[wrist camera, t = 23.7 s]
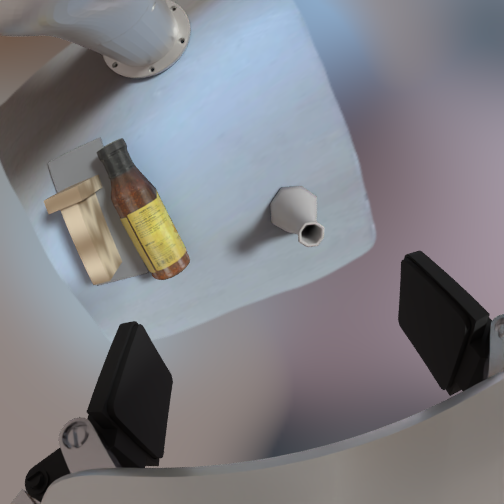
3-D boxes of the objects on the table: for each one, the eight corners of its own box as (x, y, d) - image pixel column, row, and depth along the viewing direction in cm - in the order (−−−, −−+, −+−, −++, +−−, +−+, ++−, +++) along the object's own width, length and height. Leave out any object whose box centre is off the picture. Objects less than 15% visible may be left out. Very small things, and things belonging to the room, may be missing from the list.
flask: (263, 226, 44) (273, 256, 35) (276, 179, 41) (290, 198, 32) (309, 236, 45) (329, 267, 36) (323, 191, 42) (349, 212, 33)
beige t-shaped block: (67, 187, 38) (43, 200, 32) (98, 174, 38) (77, 185, 32) (99, 267, 44) (83, 290, 38) (130, 259, 44) (116, 282, 38)
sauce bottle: (198, 255, 44) (143, 128, 35) (178, 281, 39) (112, 139, 30) (165, 260, 46) (111, 145, 38) (144, 284, 41) (81, 158, 33)
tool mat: (49, 162, 36) (47, 162, 36) (100, 137, 36) (99, 137, 36) (98, 283, 46) (97, 285, 45) (148, 271, 46) (148, 272, 45)
